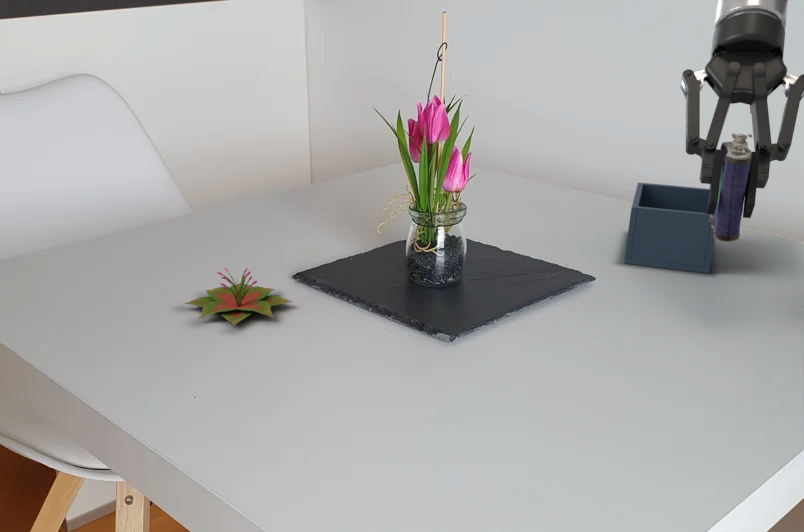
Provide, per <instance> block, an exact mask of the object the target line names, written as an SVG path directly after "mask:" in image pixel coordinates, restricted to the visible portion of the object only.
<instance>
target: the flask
mask: <svg viewBox="0 0 804 532" xmlns="http://www.w3.org/2000/svg"><path fill="white" fill-rule="evenodd" d="M730 134H731V137H732V139H733V140H732V141H723V142H721V145H720V148H719V149H721V150H723V157H722V166H721V175H720V184H719V193H718V202H717V206H716V210H715V214H714V215H710V220H709V221H711V222H712V225H711V228H713V229H715V230H714V231H713V232H714V238H715V240H718V241H720V242H727V243H728V242H729V243H731V242H732V243H733V242H736V241H738V240H739V239H740V236H741V235H740V230H741V229H740V228H741V223H742V217H743V210H744V200H745V193H746V187H747V181H748V175H749V170H750V164H751V159H752V152H753V151H751V149H750V148H749V147H748V145H749V144H748V142H747V141H746V140H747V139H748V138H753V134H751V133H749V132H748V133H745V134H744V133H742V132H741V133H735V132H733V133H730Z"/></svg>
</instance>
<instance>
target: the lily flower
mask: <svg viewBox="0 0 804 532" xmlns="http://www.w3.org/2000/svg"><path fill="white" fill-rule="evenodd" d="M223 269H224V270H225V271H226V272H227V273H228V274H229V276H230V278H231V279H230V278H229V277H227V276H226V275H224V274H223V273H222V272H219V271H217V272H216V273H217V274H218V275H219V276H221V279H222V280H226V282H228V284H230V286H228V285H227V284H225V283H223V282H221V283H220V286H219V287H215V288H212V289H205V291H206V293H207V295H208V296H200V297H197V298H195V299H192V300H191V301H189V302H188V301H187V302H183V304H184V305H190V306H195V307H199V308H200V307H201V308H202V309H201V312H200V313H201V315H199V317H198V320H199V319H201V318H204V317H208V316H210V315H214V314H217V313H220V315H221V317H223V318H224V319H225V320H226V321H228V322H229V323H231V324H232V326H236V325H237V324H238V323H240V322H241V321H243V320H245V319H246V318H247V317H249V316H251V315H252V314H253V312H256V313H259V314H261V315H265V316H267V317H270V318H274V316H273V313H272V307H274V306H278V305H282V304H287V303H292V302H293V300H289V299H287V298H283V296H279V295H270V294H271V293H272V292H273V291H274V290H276V288H270V287H264V286H258V285H257V286H254V285H255V284H257V283H258V280H254V281H253V282H252V283H251V284H248V283H249V282H250V281H251V280H252V278H253V276H252V275H250V274H251V273H252V271H248V269H249V268H248V267H246V269H245V270H244V271H243V274H242V275H241V281H240V282H238V281H237V278H233V277H232V276H233V275H232V274H230V272H229V270H228V269H227V268H226V267H223ZM247 271H248V272H247ZM249 275H250V277H249V278H248V280H247V282H246V279H247V277H248V276H249ZM235 281H236V282H235ZM245 282H246V283H245Z"/></svg>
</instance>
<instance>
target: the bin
mask: <svg viewBox="0 0 804 532" xmlns="http://www.w3.org/2000/svg"><path fill="white" fill-rule="evenodd" d="M709 190H710V188H705V187H693V186H684V185H683V186H682V185H673V184H672V185H670V184H660V183H648V182H637V184H636V188H635V193H634V196H633V200H632V204H631V209H630V215H629V222H628V223H629V224H628V231H627V238H626V245H625V250H624V258H623V264H626V265H635V266H642V267H652V268H658V269H659V268H660V269H667V270H668V269H669V270H675V271H684V272H692V273H699V274H709V273H710V268H711V264H712V259H713V253H714V247H715V242H716V239H715V238H714V232H713V231H714V230H715V229H713V228H711V225H712V222H711V221H709V220H710V214H707V207H708V198H709Z"/></svg>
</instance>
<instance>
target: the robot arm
mask: <svg viewBox="0 0 804 532" xmlns="http://www.w3.org/2000/svg"><path fill="white" fill-rule="evenodd" d="M788 2H789V0H717V3H716V11H715V17H714V19H715V20H714V26H713V27H714V28H713V31H714V32H713V36H712V42H711V51H710V59H709V61H708V62H707V63H706V64H705V65H704V66H705V67H704V68H703V69H701V70H698V71H694V70H692V69H685V70H683V71H682V74H681V82H680V90H681V92H682V94H683V97H684V98H685V152H686V154H687V155H689V156H693V155H697V156H699V157H700V159H701V166H700V171H699V172H700V173H699V181H700V184H705V185H709V189H710V190H709V198H708V207H707V214H710V215H714V214H715V210H716V206H717V202H718V193H719V184H720V175H721V166H722V157H723V150H721V149H720V148H719V149H718V145H719V141H720V139H721V136H722V132H723V128H724V125H725V122H726V118H727V115H728V112H729V109H730V106H731V105H734V104H745V105H749V112H750V115H751V124H752V125H751V126H752V138H753V146H754V147H753V148H754V151H751V152H752V159H751V164H750V170H749V175H748V181H747V187H746V193H745V198H744V203H743V212H742V218H744V219H751V218H752V216H753V212H754V208H755V206H756V199H757V198H756V197H757V189H765V188H766V186H767V184H768V181H769V179H770V167H771V162H774V161H778V162H783V161H785V160H786V159H787V157H788V155H789V152H790V149H791V146H792V142H793V137H794V133H795V127H796V123H797V118H798V112H799V108H800V103H801V101H802V99H803V98H804V73H803V74H800V75H799V76H796V75H794V74H792V73H789V72H788V67H787V66H786V64H785V63H784V52H785V42H786V41H785V39H786V26H787V14H788ZM705 82H706V83H707V84H708V86H709V87H710V88H711V90H712V91H713V92H714V94H716V96H717V97H718V99H717V103H716V106H715V109H714V112H713V116H712V118H711V122H710V125H709V129H708V132H707V135H706V139H704V138H701V135H700V133H701V131H700V130H701V129H700V128H701V127H700V125H701V124H700V121H701V115H700V113H701V109H700V107H701V104H700V103H701V97H700V96H701V91H702V90H703V87H704V83H705ZM781 85H782V86H783V94H784V96H785V98H786V101H785V104H784V106H783V107H784V108H783V112H782V118H781V123H780V125H779V126H780V127H779V132H778V136H777V141H776V142H775V143H772V133H771V126H770V125H771V123H770V114H769V104H768V97H769V96H770V95H771V94H773V92H775V91H776V90H777V89H779V87H780V86H781Z"/></svg>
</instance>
